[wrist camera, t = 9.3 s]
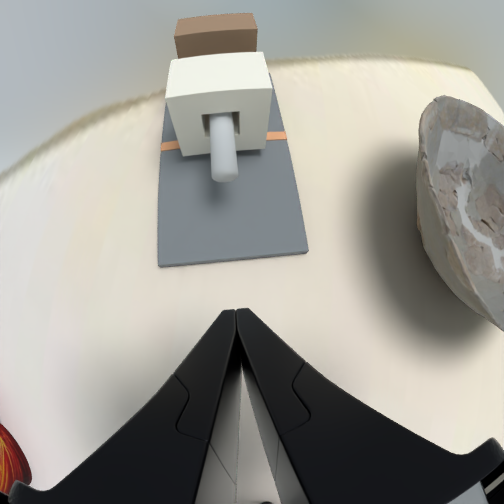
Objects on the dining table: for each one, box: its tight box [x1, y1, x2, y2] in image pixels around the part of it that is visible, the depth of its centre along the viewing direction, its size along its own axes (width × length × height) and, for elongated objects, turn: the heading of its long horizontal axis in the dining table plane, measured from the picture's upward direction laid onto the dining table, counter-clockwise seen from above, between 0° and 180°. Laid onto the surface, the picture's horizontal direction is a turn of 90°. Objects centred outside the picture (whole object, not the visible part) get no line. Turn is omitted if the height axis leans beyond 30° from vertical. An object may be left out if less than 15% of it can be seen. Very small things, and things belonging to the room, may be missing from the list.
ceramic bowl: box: [416, 95, 504, 331], centre depth 19 cm, size 22×23×10 cm
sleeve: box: [165, 52, 273, 156], centre depth 20 cm, size 5×7×7 cm
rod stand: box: [158, 13, 309, 267], centre depth 20 cm, size 22×12×10 cm, turn 6°
